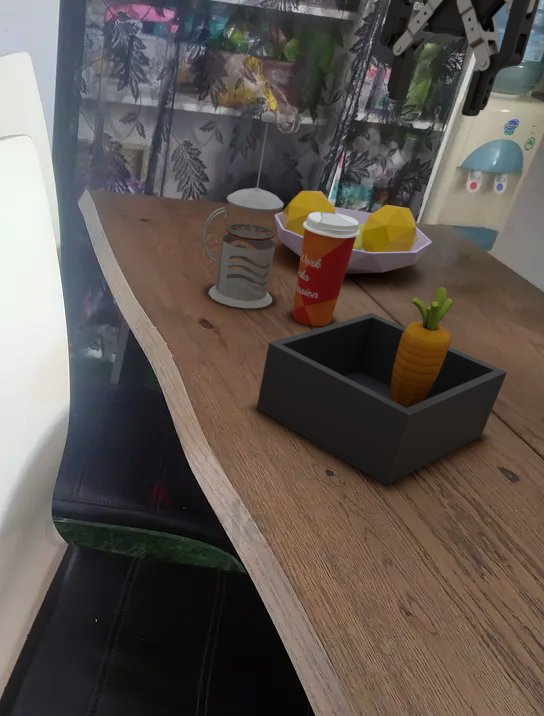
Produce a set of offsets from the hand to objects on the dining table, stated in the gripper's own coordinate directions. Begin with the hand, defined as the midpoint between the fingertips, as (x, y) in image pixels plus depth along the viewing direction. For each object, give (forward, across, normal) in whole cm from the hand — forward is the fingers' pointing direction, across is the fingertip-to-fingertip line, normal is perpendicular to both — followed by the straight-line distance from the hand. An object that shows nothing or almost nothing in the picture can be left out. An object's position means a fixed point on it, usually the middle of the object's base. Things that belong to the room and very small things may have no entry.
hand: (431, 107), depth 74 cm
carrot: (+29, -11, +7) cm, 32 cm away
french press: (+30, +28, -7) cm, 42 cm away
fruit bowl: (+30, +31, -36) cm, 56 cm away
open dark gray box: (+30, -8, +8) cm, 32 cm away
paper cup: (+30, +16, -11) cm, 36 cm away
